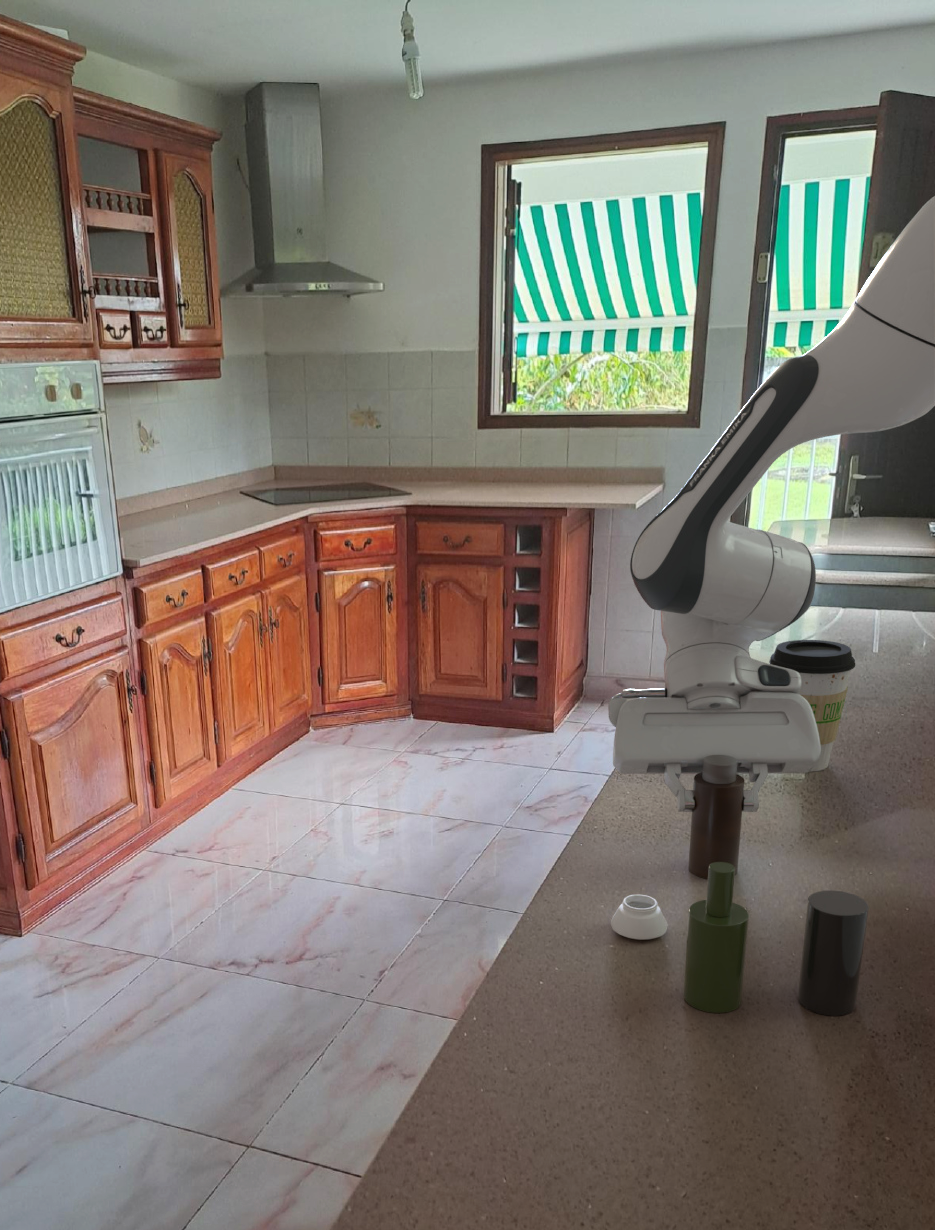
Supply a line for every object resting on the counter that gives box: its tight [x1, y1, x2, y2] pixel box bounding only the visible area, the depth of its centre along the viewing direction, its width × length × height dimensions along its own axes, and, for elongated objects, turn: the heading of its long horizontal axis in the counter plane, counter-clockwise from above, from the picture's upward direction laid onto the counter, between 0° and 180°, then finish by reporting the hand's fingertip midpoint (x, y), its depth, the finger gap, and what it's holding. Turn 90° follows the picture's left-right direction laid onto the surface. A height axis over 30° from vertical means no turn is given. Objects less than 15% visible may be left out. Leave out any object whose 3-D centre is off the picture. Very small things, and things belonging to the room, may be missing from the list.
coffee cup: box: [768, 639, 856, 773], centre depth 140 cm, size 10×10×15 cm
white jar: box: [610, 894, 669, 941], centre depth 104 cm, size 5×3×5 cm
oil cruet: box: [682, 862, 750, 1014], centre depth 91 cm, size 5×5×12 cm
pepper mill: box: [687, 755, 745, 880], centre depth 113 cm, size 5×5×12 cm
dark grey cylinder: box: [797, 890, 870, 1017], centre depth 90 cm, size 4×4×9 cm
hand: (718, 809), depth 112 cm, fingers closed on pepper mill, 5 cm apart
